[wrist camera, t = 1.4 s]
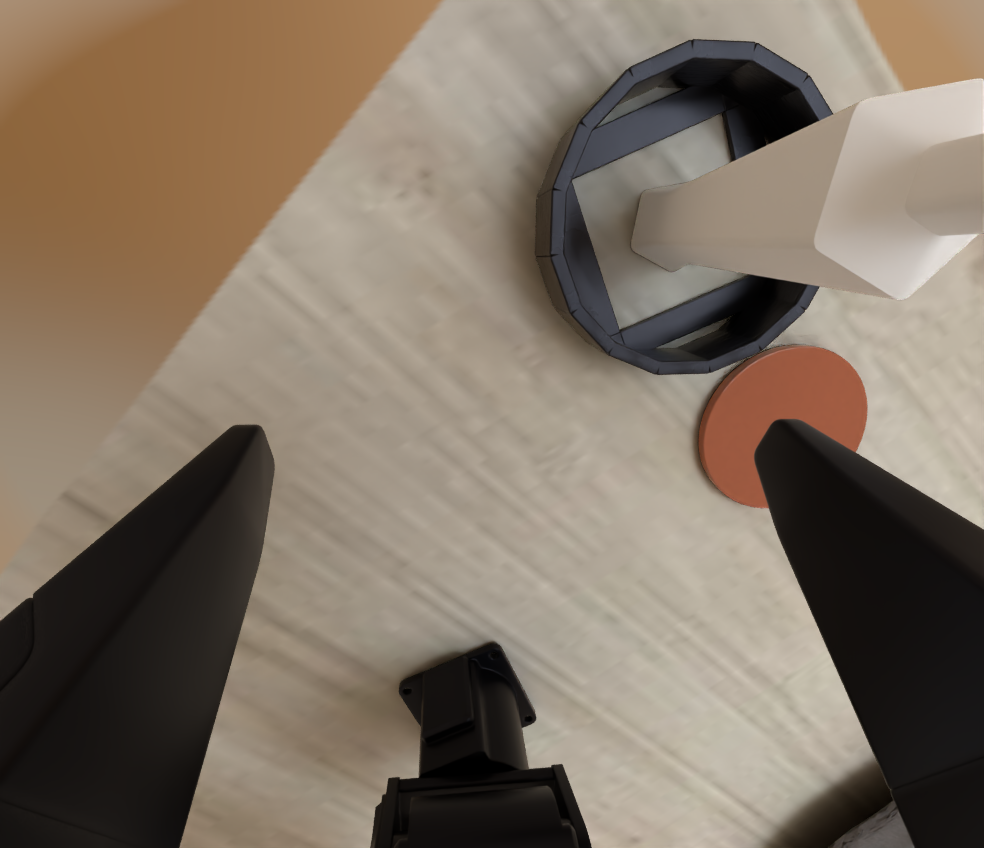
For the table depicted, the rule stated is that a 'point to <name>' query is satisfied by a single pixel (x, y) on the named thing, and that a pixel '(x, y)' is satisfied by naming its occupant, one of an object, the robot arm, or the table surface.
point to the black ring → (708, 92)
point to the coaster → (777, 412)
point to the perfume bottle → (837, 198)
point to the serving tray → (877, 832)
